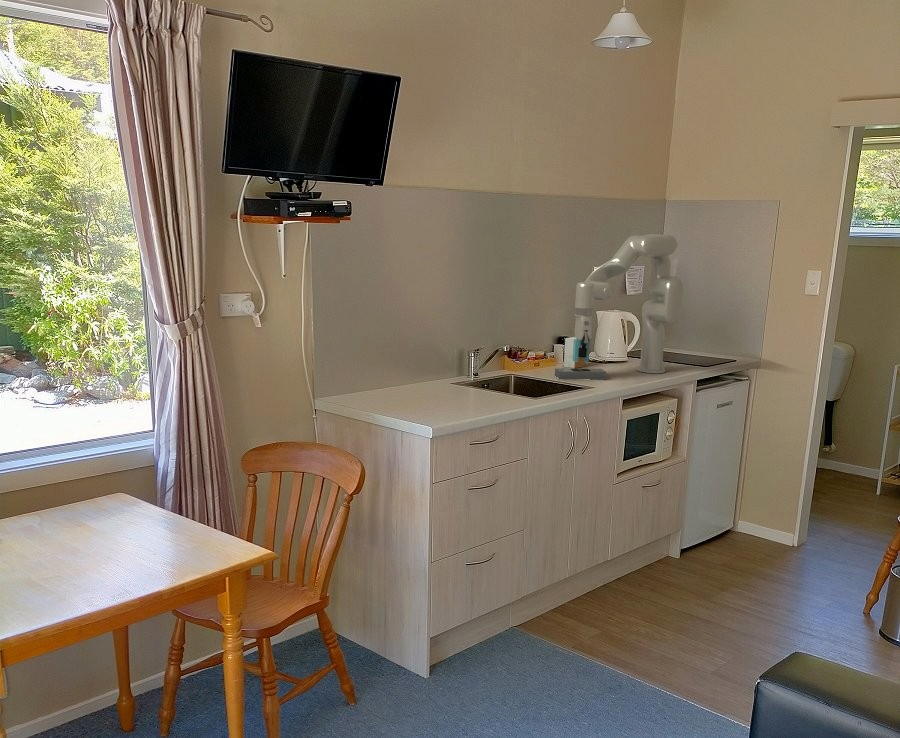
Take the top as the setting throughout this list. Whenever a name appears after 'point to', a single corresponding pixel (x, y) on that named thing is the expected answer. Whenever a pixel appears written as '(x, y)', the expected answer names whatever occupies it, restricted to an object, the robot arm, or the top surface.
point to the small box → (571, 355)
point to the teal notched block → (576, 351)
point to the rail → (580, 373)
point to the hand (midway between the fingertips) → (580, 356)
